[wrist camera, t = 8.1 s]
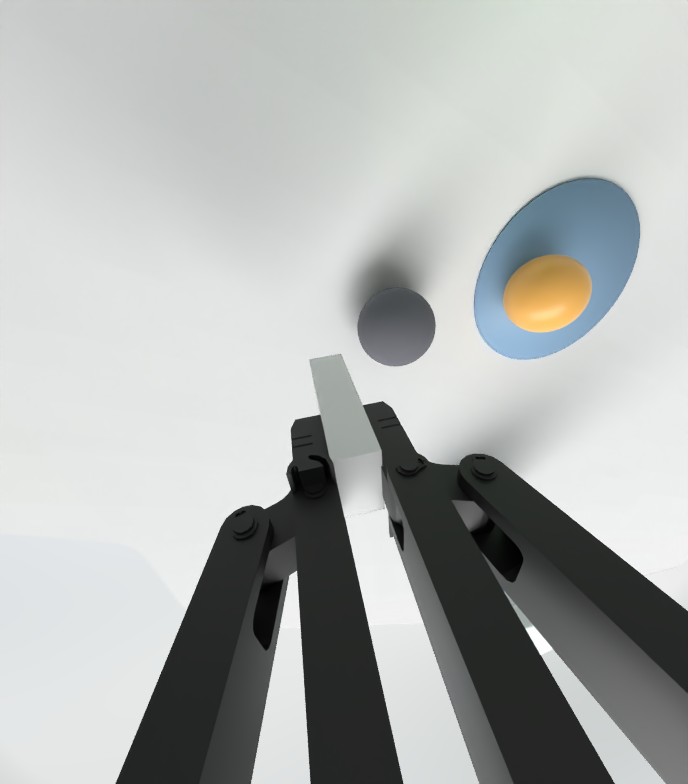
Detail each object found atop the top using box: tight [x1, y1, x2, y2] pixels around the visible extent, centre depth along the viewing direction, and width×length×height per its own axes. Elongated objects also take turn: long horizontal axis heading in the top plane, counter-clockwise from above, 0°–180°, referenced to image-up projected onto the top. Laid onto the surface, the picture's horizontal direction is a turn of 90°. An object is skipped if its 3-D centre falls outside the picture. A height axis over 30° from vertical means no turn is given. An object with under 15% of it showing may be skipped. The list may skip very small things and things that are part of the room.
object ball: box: [503, 254, 592, 332], centre depth 23 cm, size 6×6×6 cm
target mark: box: [474, 179, 640, 359], centre depth 25 cm, size 14×14×1 cm
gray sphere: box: [358, 288, 435, 366], centre depth 22 cm, size 6×6×6 cm
